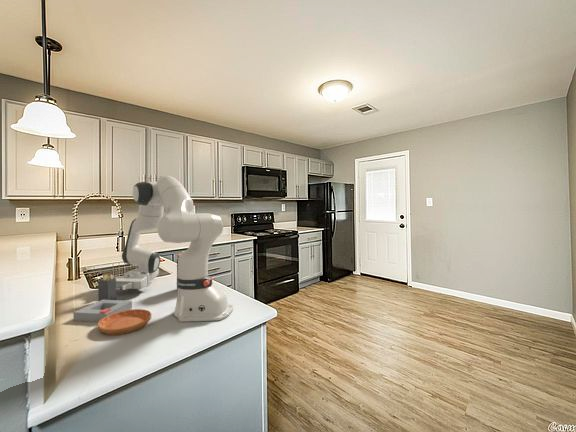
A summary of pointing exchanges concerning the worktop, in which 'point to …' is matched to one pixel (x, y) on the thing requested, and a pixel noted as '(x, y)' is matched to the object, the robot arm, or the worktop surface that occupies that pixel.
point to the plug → (107, 288)
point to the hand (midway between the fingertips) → (111, 287)
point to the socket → (101, 310)
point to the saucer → (124, 321)
